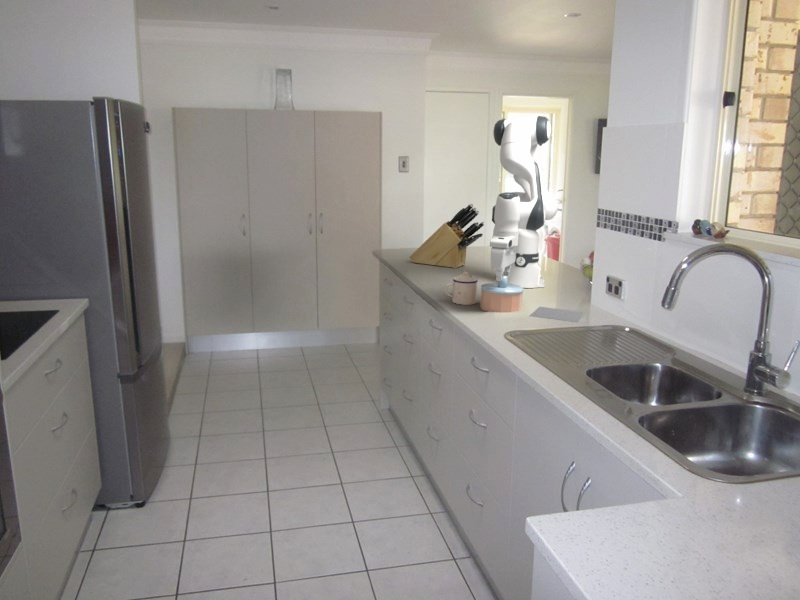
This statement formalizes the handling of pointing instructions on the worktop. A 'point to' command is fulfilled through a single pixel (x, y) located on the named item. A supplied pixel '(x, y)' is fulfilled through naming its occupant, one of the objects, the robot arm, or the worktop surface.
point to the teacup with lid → (463, 289)
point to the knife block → (450, 241)
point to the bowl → (501, 302)
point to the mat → (557, 314)
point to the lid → (502, 287)
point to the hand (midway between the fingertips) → (502, 278)
